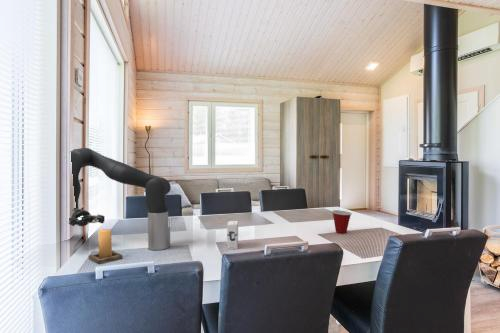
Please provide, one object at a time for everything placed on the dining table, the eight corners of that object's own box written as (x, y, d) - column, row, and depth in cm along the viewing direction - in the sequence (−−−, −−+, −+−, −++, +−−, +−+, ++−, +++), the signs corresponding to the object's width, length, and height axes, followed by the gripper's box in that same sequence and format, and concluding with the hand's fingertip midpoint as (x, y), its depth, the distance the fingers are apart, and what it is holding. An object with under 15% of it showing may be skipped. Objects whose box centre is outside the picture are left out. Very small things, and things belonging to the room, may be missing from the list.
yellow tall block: (108, 256, 140) (108, 228, 139) (113, 258, 136) (113, 230, 136) (96, 258, 136) (96, 230, 136) (102, 261, 133) (101, 232, 132)
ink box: (228, 244, 158) (228, 220, 158) (238, 244, 158) (238, 220, 158) (226, 249, 150) (226, 224, 149) (237, 249, 150) (237, 224, 149)
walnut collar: (111, 253, 143) (111, 250, 143) (122, 258, 137) (122, 254, 137) (88, 258, 136) (88, 255, 136) (98, 264, 129) (98, 260, 129)
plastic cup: (351, 235, 175) (351, 213, 174) (331, 234, 178) (331, 212, 178) (351, 231, 185) (352, 210, 185) (332, 229, 188) (332, 209, 188)
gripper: (63, 211, 149) (76, 216, 138) (94, 207, 159) (109, 212, 149) (63, 227, 149) (76, 233, 138) (94, 222, 160) (109, 228, 149)
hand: (93, 222), depth 143 cm, fingers open, 8 cm apart
